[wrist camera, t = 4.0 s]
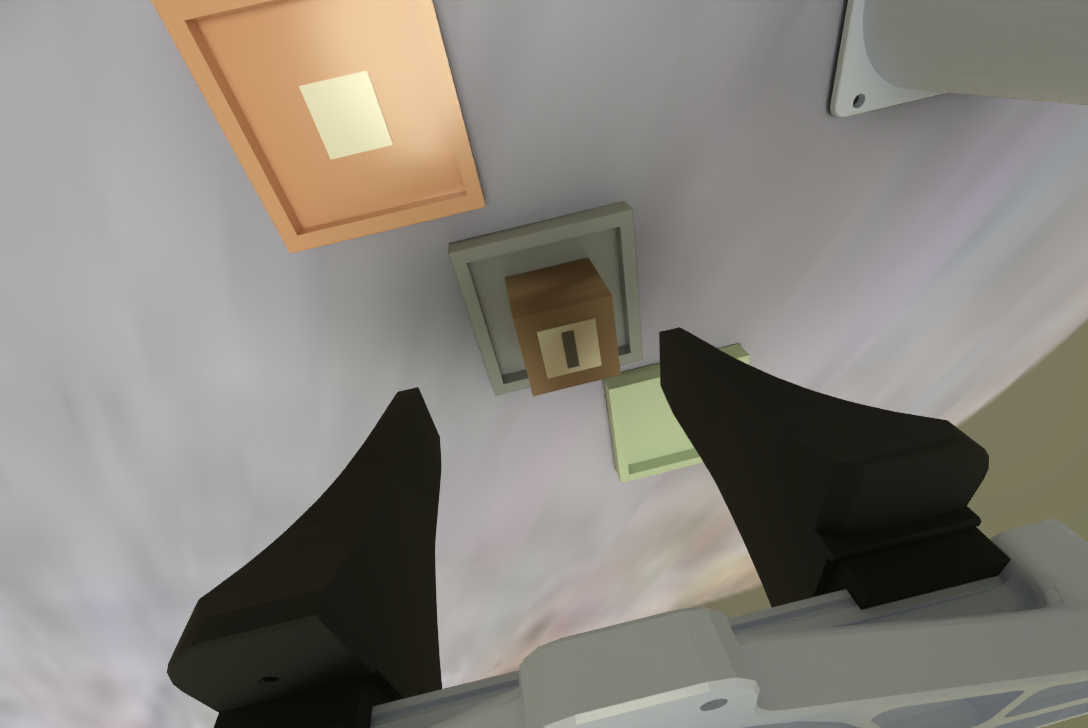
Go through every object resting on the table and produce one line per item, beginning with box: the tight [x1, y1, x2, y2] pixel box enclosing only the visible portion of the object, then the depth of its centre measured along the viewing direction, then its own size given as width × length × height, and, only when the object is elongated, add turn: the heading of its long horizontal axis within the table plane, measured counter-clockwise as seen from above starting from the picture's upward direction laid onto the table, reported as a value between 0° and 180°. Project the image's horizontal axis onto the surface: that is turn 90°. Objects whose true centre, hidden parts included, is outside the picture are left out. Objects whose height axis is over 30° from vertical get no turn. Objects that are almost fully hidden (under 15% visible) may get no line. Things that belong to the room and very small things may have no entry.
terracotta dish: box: [151, 0, 486, 253], centre depth 16 cm, size 8×8×1 cm
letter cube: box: [504, 257, 621, 396], centre depth 20 cm, size 4×4×4 cm
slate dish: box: [449, 202, 643, 396], centre depth 22 cm, size 8×8×1 cm
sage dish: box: [603, 344, 750, 483], centre depth 28 cm, size 8×8×1 cm
